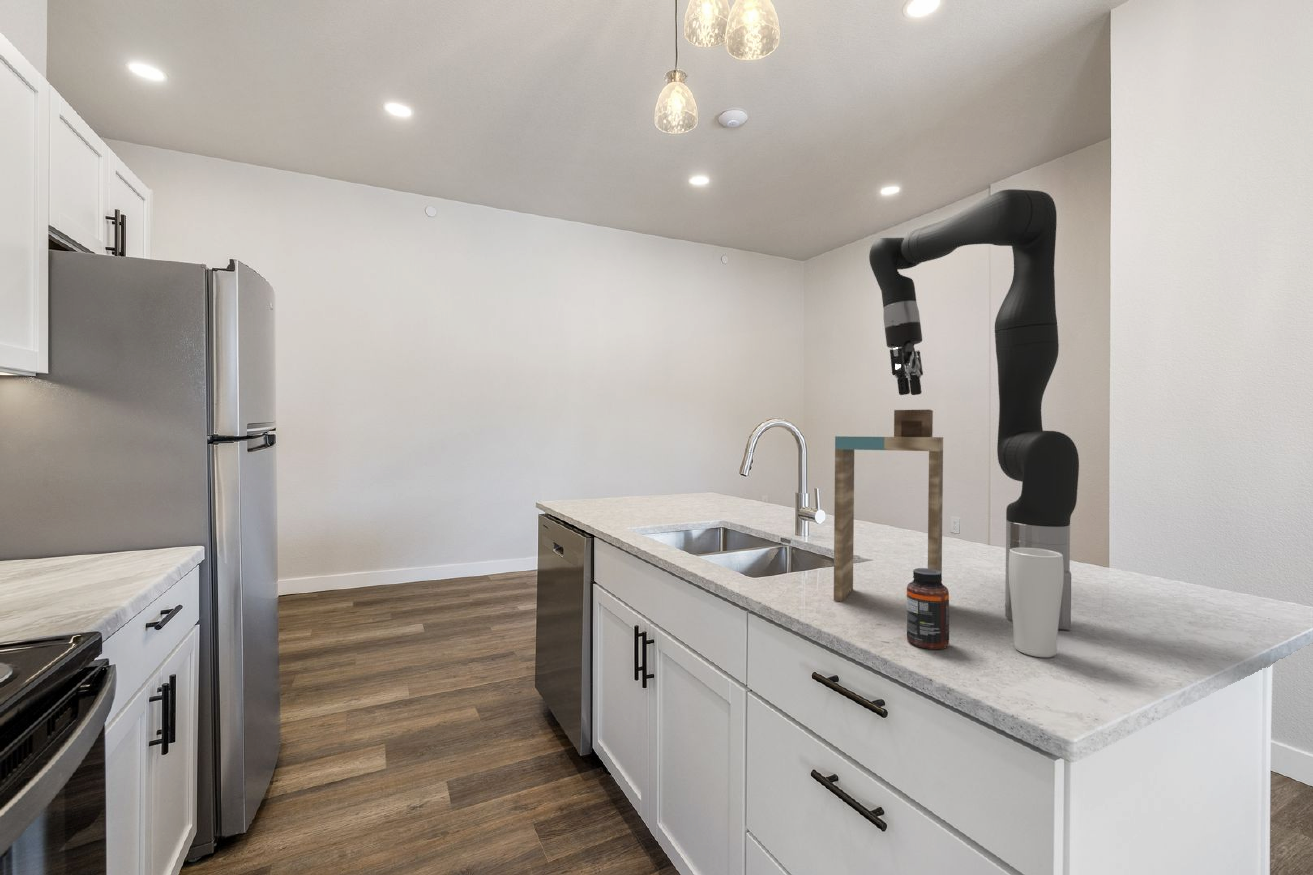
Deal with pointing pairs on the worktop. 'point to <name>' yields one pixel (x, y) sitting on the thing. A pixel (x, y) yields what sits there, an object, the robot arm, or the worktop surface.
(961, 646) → the worktop surface
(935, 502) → the oak stand
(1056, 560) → the white tall cup
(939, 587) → the supplement bottle
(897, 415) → the brown wooden block
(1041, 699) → the worktop surface
